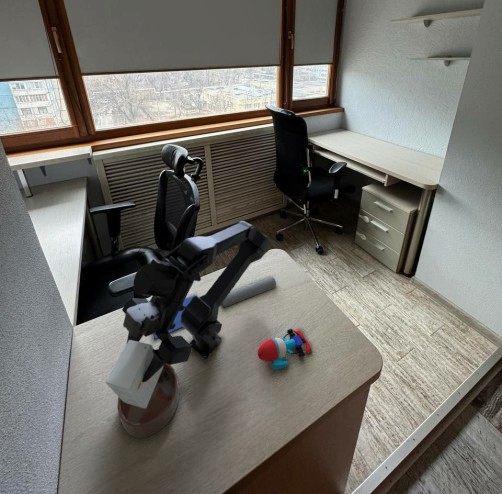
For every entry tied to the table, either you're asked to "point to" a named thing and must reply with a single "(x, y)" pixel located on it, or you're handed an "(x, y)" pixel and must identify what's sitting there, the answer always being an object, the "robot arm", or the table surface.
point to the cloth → (179, 317)
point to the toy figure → (282, 348)
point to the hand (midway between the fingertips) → (134, 368)
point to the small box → (133, 374)
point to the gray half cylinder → (249, 291)
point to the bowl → (152, 407)
